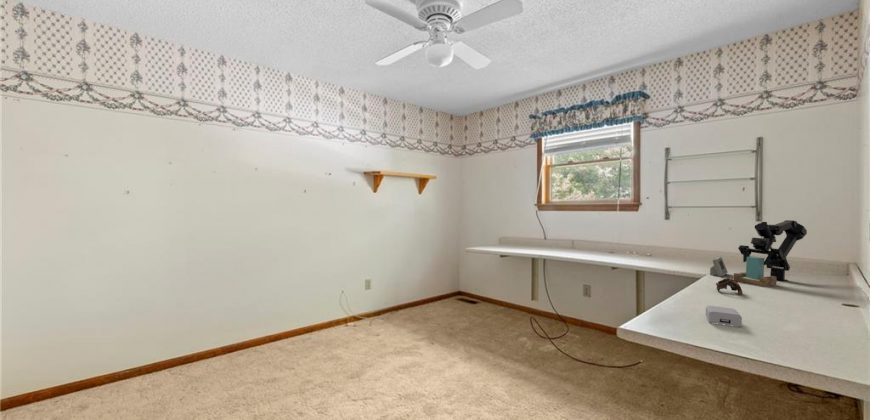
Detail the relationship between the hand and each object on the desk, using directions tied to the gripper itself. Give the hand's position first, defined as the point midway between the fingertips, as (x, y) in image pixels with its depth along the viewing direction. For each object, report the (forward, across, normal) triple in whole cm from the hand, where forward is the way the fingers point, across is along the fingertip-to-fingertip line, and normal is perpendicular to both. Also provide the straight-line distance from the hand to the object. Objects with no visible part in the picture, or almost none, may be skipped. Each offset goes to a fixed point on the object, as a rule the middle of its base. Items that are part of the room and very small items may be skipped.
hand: (753, 263), depth 200 cm
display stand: (+7, 0, +9) cm, 11 cm away
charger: (+70, +31, -54) cm, 93 cm away
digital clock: (+2, -21, +14) cm, 25 cm away
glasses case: (+5, 0, +7) cm, 8 cm away
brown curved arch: (+34, +8, -18) cm, 39 cm away
